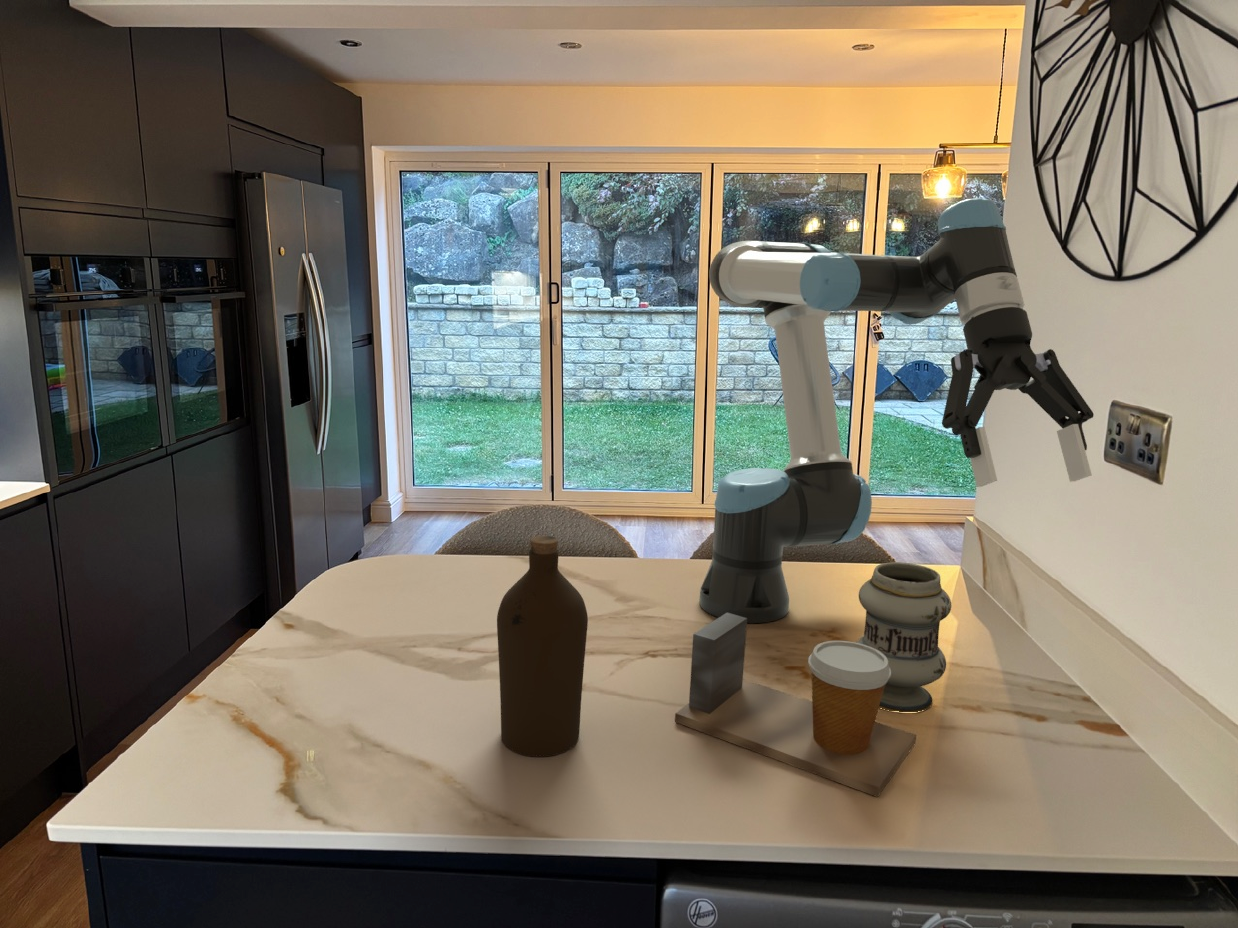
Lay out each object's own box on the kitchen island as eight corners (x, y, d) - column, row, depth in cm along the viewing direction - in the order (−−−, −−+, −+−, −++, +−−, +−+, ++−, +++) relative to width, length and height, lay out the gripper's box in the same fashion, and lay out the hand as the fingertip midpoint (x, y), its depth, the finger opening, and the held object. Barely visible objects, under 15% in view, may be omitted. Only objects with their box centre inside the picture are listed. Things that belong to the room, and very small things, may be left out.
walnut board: (674, 721, 110) (679, 639, 108) (727, 681, 122) (732, 606, 119) (877, 796, 96) (888, 703, 93) (915, 743, 107) (925, 659, 105)
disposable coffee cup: (880, 776, 100) (893, 679, 97) (796, 760, 102) (806, 665, 100) (880, 735, 109) (892, 646, 106) (802, 721, 111) (812, 633, 109)
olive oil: (581, 762, 101) (588, 555, 95) (489, 758, 101) (490, 552, 95) (586, 716, 111) (592, 527, 105) (502, 712, 111) (504, 524, 106)
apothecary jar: (840, 673, 126) (852, 554, 122) (924, 677, 125) (939, 558, 121) (860, 715, 114) (874, 585, 110) (953, 720, 113) (971, 589, 109)
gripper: (925, 302, 102) (966, 477, 97) (1096, 305, 109) (1142, 467, 104) (890, 329, 109) (926, 494, 104) (1052, 330, 116) (1094, 484, 111)
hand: (1034, 481), depth 104 cm, fingers open, 13 cm apart
